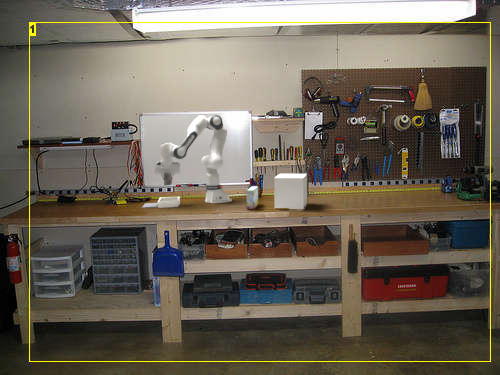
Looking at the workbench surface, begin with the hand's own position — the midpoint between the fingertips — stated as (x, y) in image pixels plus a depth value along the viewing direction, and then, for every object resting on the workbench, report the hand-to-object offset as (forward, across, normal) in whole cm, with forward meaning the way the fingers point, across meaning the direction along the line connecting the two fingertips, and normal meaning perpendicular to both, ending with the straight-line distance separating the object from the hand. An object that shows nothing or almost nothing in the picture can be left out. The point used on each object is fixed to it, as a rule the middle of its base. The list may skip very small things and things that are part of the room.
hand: (167, 179), depth 301 cm
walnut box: (+4, 0, 0) cm, 4 cm away
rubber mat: (+21, +15, 0) cm, 26 cm away
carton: (+21, 0, 0) cm, 21 cm away
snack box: (+21, -66, +22) cm, 73 cm away
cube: (+22, -95, +27) cm, 101 cm away
